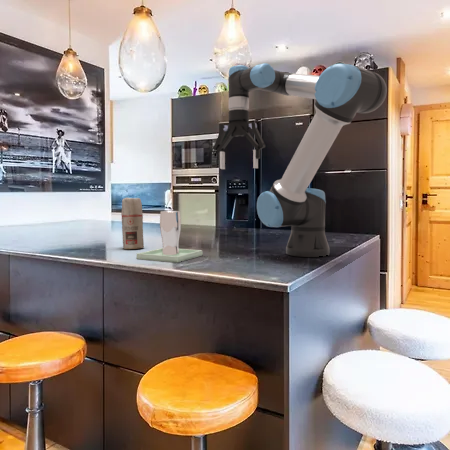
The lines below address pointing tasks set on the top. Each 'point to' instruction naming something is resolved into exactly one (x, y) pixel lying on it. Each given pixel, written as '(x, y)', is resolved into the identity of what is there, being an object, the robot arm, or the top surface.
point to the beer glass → (170, 232)
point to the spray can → (132, 223)
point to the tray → (157, 256)
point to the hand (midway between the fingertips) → (238, 168)
